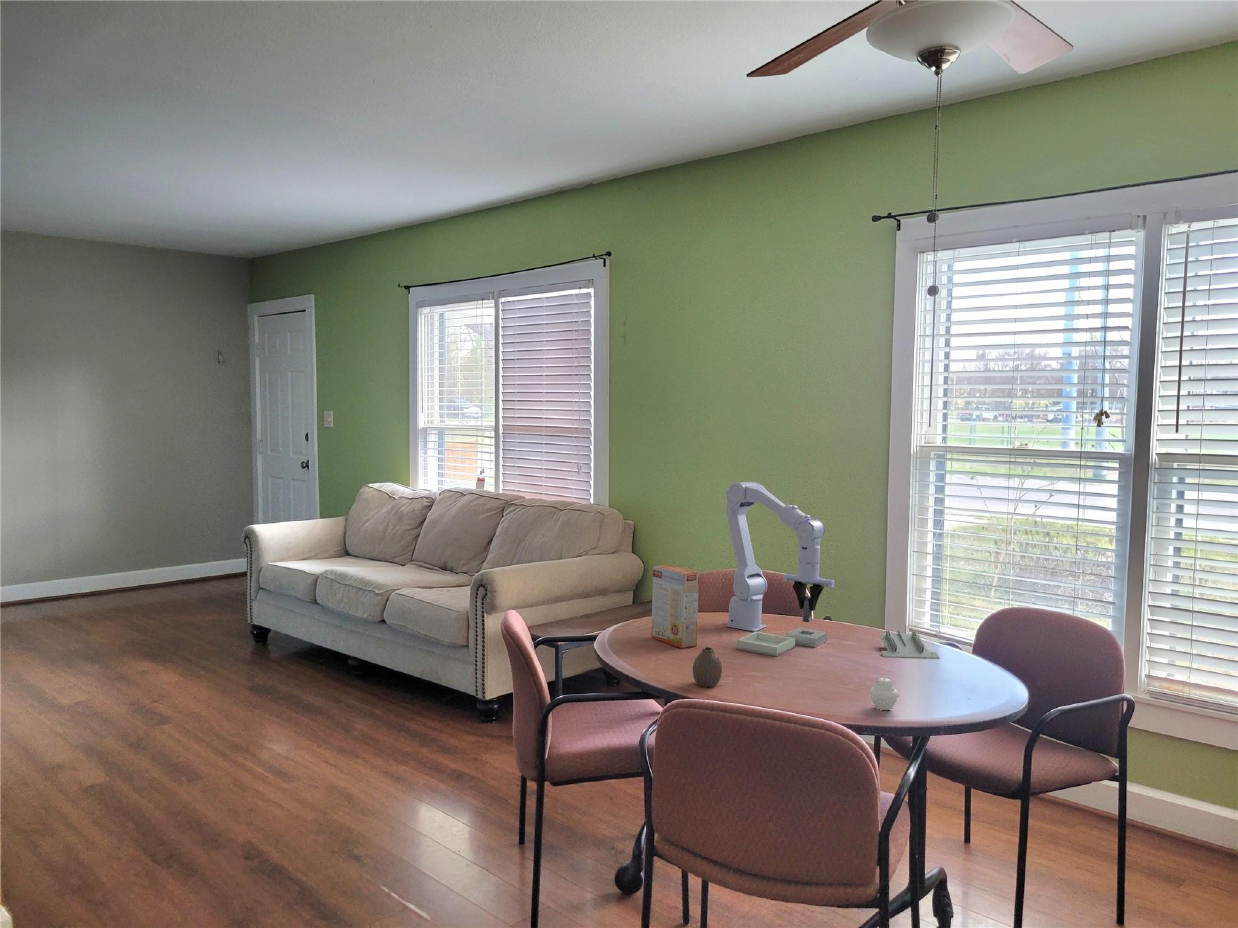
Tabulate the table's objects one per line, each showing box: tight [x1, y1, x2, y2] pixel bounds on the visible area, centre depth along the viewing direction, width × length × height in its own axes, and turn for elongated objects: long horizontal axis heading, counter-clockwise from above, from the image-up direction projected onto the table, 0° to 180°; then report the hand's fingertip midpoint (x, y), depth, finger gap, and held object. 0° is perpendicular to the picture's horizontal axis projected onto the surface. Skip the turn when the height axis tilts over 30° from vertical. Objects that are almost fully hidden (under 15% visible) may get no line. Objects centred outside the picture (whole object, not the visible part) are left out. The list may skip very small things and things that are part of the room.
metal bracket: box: [879, 629, 941, 660], centre depth 240 cm, size 14×6×15 cm
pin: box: [801, 595, 813, 623], centre depth 248 cm, size 3×3×7 cm
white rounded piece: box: [869, 677, 900, 711], centre depth 192 cm, size 6×6×7 cm
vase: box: [692, 646, 723, 688], centre depth 206 cm, size 7×7×9 cm
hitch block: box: [784, 627, 828, 648], centre depth 248 cm, size 9×9×2 cm
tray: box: [736, 630, 796, 657], centre depth 240 cm, size 12×12×2 cm
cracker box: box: [650, 564, 700, 649], centre depth 243 cm, size 14×6×21 cm, turn 34°
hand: (807, 609), depth 248 cm, fingers closed on pin, 3 cm apart
